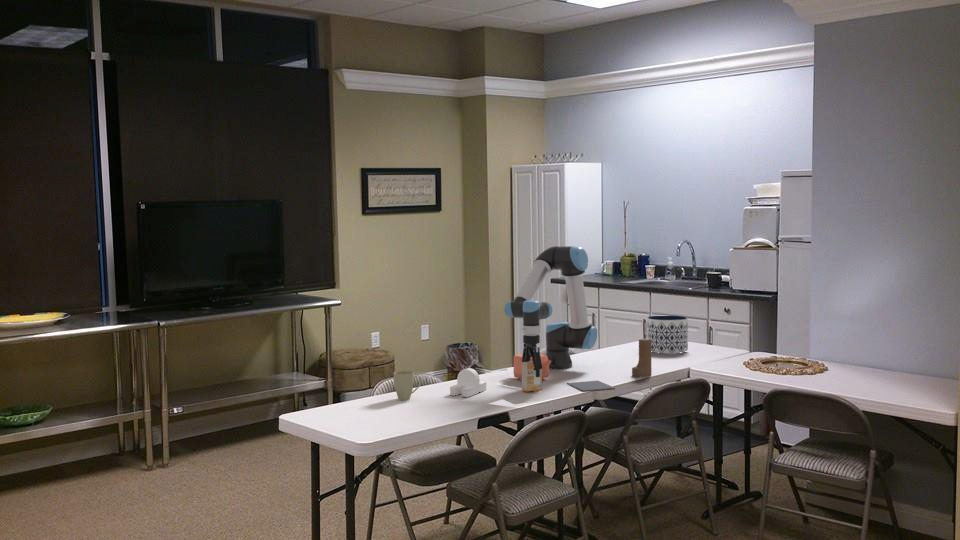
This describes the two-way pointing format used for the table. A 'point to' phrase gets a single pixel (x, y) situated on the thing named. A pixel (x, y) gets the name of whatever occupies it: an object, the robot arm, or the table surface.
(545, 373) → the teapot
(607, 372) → the table surface
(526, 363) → the supplement box
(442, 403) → the table surface
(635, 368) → the wooden block
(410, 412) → the table surface
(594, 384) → the mat
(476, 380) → the tape dispenser
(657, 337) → the planter
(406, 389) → the mug
